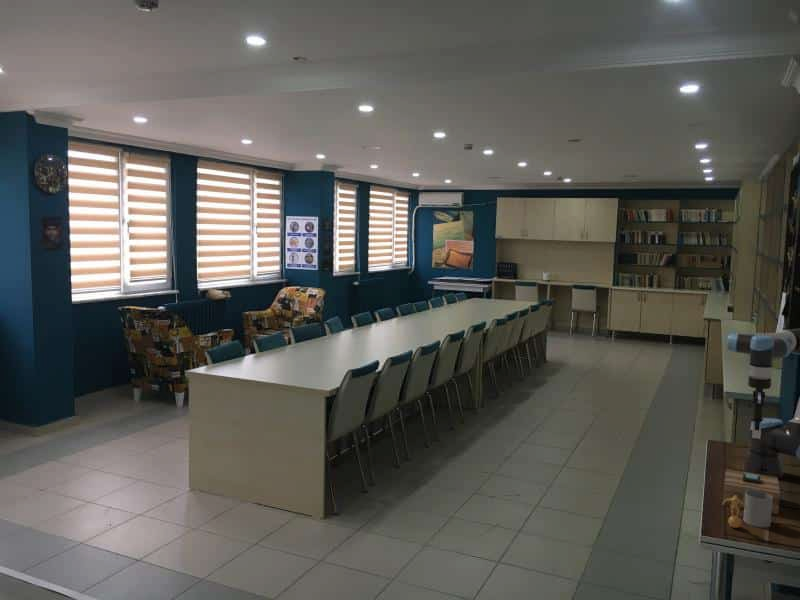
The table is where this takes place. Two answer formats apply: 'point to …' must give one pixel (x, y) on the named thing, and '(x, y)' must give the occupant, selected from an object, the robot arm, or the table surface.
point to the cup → (758, 508)
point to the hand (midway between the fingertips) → (756, 437)
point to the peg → (751, 477)
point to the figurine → (735, 520)
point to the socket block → (750, 487)
